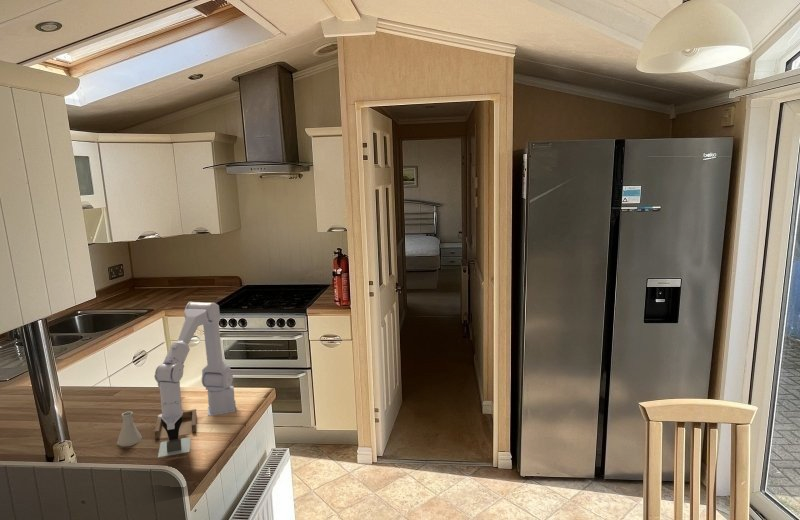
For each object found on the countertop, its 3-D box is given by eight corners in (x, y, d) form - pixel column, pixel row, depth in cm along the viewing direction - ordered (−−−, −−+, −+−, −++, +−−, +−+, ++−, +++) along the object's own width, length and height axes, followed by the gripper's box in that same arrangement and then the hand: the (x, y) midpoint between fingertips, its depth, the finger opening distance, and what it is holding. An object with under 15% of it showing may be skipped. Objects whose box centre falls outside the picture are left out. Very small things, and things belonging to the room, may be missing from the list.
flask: (131, 449, 158) (128, 419, 156) (111, 446, 159) (109, 417, 158) (147, 438, 165) (144, 409, 163) (128, 436, 166) (125, 407, 165)
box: (196, 417, 180) (196, 409, 179) (196, 433, 167) (195, 424, 167) (159, 423, 175) (158, 414, 175) (155, 440, 163) (154, 431, 163)
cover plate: (190, 439, 164) (189, 428, 164) (189, 454, 155) (188, 442, 155) (160, 445, 161) (160, 433, 161) (158, 460, 152) (157, 448, 151)
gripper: (159, 393, 161) (162, 433, 163) (154, 411, 148) (158, 454, 150) (182, 390, 164) (185, 429, 165) (180, 408, 150) (183, 450, 152)
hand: (174, 441), depth 158 cm, fingers closed
